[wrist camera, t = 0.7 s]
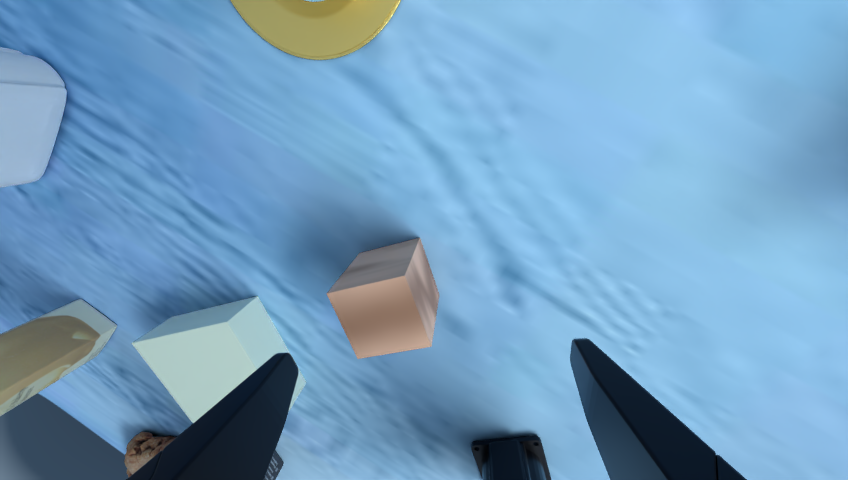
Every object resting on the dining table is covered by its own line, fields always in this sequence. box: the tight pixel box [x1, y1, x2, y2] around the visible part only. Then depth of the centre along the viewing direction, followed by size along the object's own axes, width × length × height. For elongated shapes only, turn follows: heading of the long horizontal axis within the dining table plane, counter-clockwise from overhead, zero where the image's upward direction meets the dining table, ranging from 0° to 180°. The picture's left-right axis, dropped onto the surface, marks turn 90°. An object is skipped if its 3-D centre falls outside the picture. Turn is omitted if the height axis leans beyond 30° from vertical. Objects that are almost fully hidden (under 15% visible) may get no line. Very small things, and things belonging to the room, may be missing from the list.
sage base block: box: [132, 296, 306, 423], centre depth 27 cm, size 10×10×4 cm
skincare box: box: [0, 299, 117, 416], centre depth 25 cm, size 6×4×12 cm
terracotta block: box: [327, 238, 439, 359], centre depth 21 cm, size 5×5×6 cm
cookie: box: [124, 432, 176, 477], centre depth 36 cm, size 10×11×3 cm
